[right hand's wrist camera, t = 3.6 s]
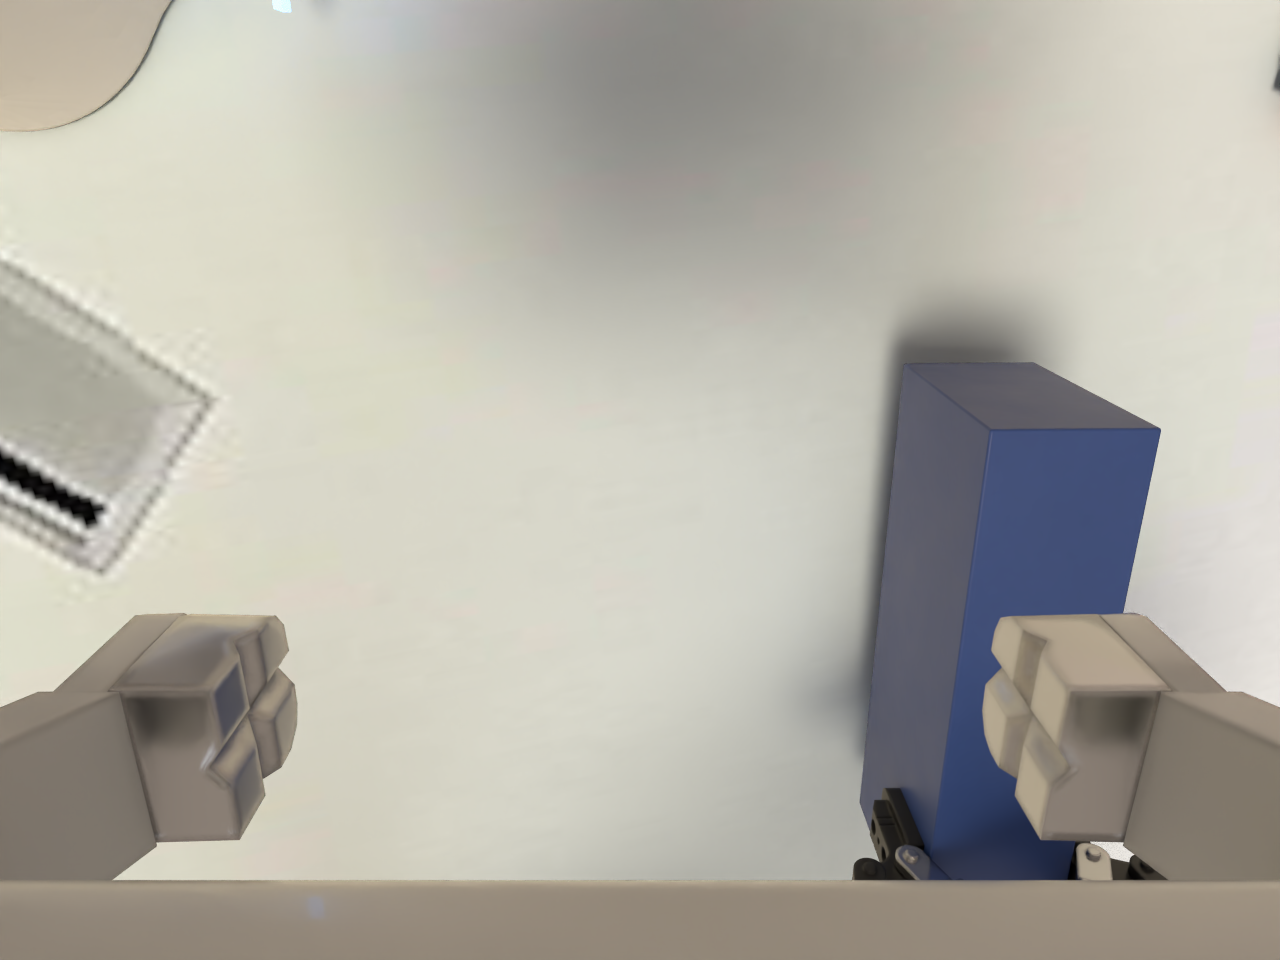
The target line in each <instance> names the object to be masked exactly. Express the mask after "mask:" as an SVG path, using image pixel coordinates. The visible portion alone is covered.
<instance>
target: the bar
mask: <svg viewBox="0 0 1280 960" xmlns="http://www.w3.org/2000/svg"><path fill="white" fill-rule="evenodd" d="M1160 433H1161V429H1160V428H1158V427H1156V426H1155V425H1153V424H1151V423H1149V422H1147V421H1145V420H1143V419H1141V418H1139V417H1137V416H1135V415H1133V414H1131V413H1130V412H1128V411H1126V410H1124V409H1122V408H1120V407H1118V406H1116V405H1114V404H1112V403H1110V402H1108V401H1106V400H1105V399H1103V398H1101V397H1099V396H1097V395H1095V394H1093V393H1091V392H1089V391H1087V390H1085V389H1083V388H1082V387H1080V386H1078V385H1076V384H1074V383H1072V382H1070V381H1068V380H1066V379H1064V378H1062V377H1060V376H1058V375H1057V374H1055V373H1053V372H1051V371H1049V370H1047V369H1045V368H1043V367H1041V366H1039V365H1037V364H1035V363H906V364H904V368H903V378H902V388H901V398H900V408H899V418H898V427H897V437H896V447H895V457H894V467H893V477H892V487H891V497H890V507H889V517H888V527H887V536H886V546H885V556H884V566H883V576H882V586H881V596H880V606H879V616H878V626H877V636H876V646H875V655H874V665H873V675H872V685H871V695H870V705H869V715H868V725H867V735H866V745H865V755H864V764H863V774H862V784H861V794H860V805H861V807H862V810H863V813H864V816H865V819H866V821H867V824H868V827H869V830H871V820H872V811H873V805H874V800H881V798H882V790H883V788H900V789H901V791H902V793H903V796H904V798H905V800H906V803H907V805H908V807H909V810H910V812H911V814H912V817H913V819H914V821H915V824H916V826H917V829H918V831H919V833H920V836H921V838H922V840H923V843H924V852H925V853H926V854H927V855H928V856H929V857H930V858H931V859H932V860H933V861H934V862H935V863H936V864H937V865H938V866H939V867H940V868H941V869H942V870H943V871H944V872H945V873H946V874H947V875H948V876H949V877H950V878H951V879H952V880H956V879H959V878H961V879H964V880H1067V879H1068V874H1069V870H1070V865H1071V860H1072V855H1073V850H1074V846H1075V841H1059V840H1040V838H1039V836H1038V835H1037V833H1036V831H1035V830H1034V828H1033V826H1032V824H1031V823H1030V821H1029V819H1028V817H1027V816H1026V814H1025V812H1024V811H1023V809H1022V807H1021V805H1020V804H1019V802H1018V800H1017V799H1016V797H1015V790H1016V784H1017V779H1016V778H1015V777H1013V776H1012V775H1010V774H1009V773H1007V772H1005V771H1004V770H1002V769H1001V768H999V767H998V765H997V763H996V762H995V760H994V758H993V756H992V754H991V752H990V750H989V747H988V744H987V740H986V737H985V734H984V723H983V712H982V708H983V700H984V692H985V684H986V683H987V682H988V681H989V680H990V679H991V678H992V677H993V676H994V675H995V674H996V673H997V672H998V671H999V670H1000V669H1001V668H1002V667H1001V665H1000V663H999V662H998V660H997V659H996V657H995V656H994V654H993V653H992V651H991V648H992V642H993V637H994V631H995V629H996V627H997V624H998V622H999V620H1000V618H1002V617H1009V616H1036V615H1077V614H1120V613H1123V610H1124V606H1125V601H1126V596H1127V591H1128V586H1129V582H1130V577H1131V572H1132V567H1133V562H1134V558H1135V553H1136V548H1137V543H1138V538H1139V534H1140V529H1141V524H1142V519H1143V514H1144V510H1145V505H1146V500H1147V495H1148V490H1149V486H1150V481H1151V476H1152V471H1153V466H1154V462H1155V457H1156V452H1157V447H1158V442H1159V438H1160Z"/></svg>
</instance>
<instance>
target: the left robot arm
mask: <svg viewBox="0 0 1280 960" xmlns="http://www.w3.org/2000/svg"><path fill="white" fill-rule="evenodd" d="M870 836H871V839H872V842H873V843H874V847H875V850H876V853H877V856H878V858H879V861H880V862H878V861H877V860H874V859H871V858H862V859H859V860H857V861H856V862H855V864H854V868H853V877H852V880H952V879H951V878H950V877H949V876H948V875H947V874H946V873H945V872H944V871H943V870H942V869H941V868H940V867H939V866H938V865H937V864H936V863H935V862H934V861H933V860H932V859H931V858H930V857H929V856H928V855H927V854H926V853H925V852H924V843H923V840H922V838H921V836H920V833H919V831H918V829H917V826H916V824H915V821H914V819H913V817H912V814H911V812H910V810H909V807H908V805H907V803H906V800H905V798H904V796H903V793H902V791H901V789H900V788H883V790H882V798H881V800H874V805H873V811H872V820H871V830H870ZM956 880H964V879H961V878H959V879H956ZM1067 880H1168V879H1166V878H1165V877H1164V876H1162V875H1161V874H1160V873H1158V872H1157V871H1156V870H1154V869H1153V868H1152V867H1150V866H1149V865H1148V864H1146V863H1145V862H1144V861H1143V860H1141V859H1140V858H1139V857H1137V856H1136V855H1133V856H1132V857H1131V858H1130V861H1129V862H1125V861H1120V860H1116V859H1112V858H1110V856H1109V854H1108V853H1107V852H1106V851H1105V850H1104V849H1103V848H1101V847H1099V846H1097V845H1094V844H1091V843H1090V841H1075V846H1074V850H1073V855H1072V860H1071V865H1070V870H1069V874H1068V879H1067Z"/></svg>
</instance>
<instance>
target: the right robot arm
mask: <svg viewBox="0 0 1280 960" xmlns="http://www.w3.org/2000/svg"><path fill="white" fill-rule="evenodd" d="M171 1H172V0H0V131H13V132H25V131H38V130H45V129H50V128H55V127H59V126H62V125H65V124H68V123H71V122H73V121H76V120H79V119H81V118H83V117H84V116H86V115H88V114H90V113H92V112H93V111H95V110H97V109H98V108H100V107H101V106H102V105H104V104H105V103H106V102H108V101H109V100H110V99H111V98H112V97H113V96H115V95H116V94H117V93H118V92H119V91H120V90H121V89H122V87H123V86H124V85H125V84H126V83H127V82H128V81H129V79H130V78H131V77H132V75H133V74H134V72H135V71H136V69H137V68H138V66H139V65H140V63H141V61H142V60H143V58H144V56H145V54H146V52H147V50H148V48H149V45H150V43H151V40H152V38H153V36H154V33H155V31H156V29H157V26H158V24H159V22H160V19H161V17H162V16H163V14H164V12H165V10H166V8H167V7H168V5H169V4H170V2H171ZM273 8H274V9H276V10H279V11H282V12H291V7H290V0H273ZM288 651H289V648H288V643H287V638H286V633H285V628H284V624H283V623H282V622H281V621H280V620H279V619H278V618H277V617H276V616H268V615H215V614H189V615H187V614H185V613H169V614H144V615H135V616H134V617H133V618H132V619H131V620H130V621H129V622H128V623H127V624H125V625H124V626H123V627H122V628H121V629H120V630H119V631H118V632H117V633H116V634H115V635H114V636H113V637H111V638H110V639H109V640H108V641H107V642H106V643H105V644H104V645H103V646H102V647H101V648H100V649H99V650H97V651H96V652H95V653H94V654H93V655H92V656H91V657H90V658H89V659H88V660H87V661H86V662H85V663H83V664H82V665H81V666H80V667H79V668H78V669H77V670H76V671H75V672H74V673H73V674H72V675H71V676H69V677H68V678H67V679H66V680H65V681H64V682H63V683H62V684H61V685H60V686H59V687H58V688H57V689H55V690H54V691H53V692H37V693H34V694H32V695H29V696H27V697H24V698H22V699H20V700H17V701H15V702H12V703H10V704H7V705H5V706H3V707H0V960H1280V707H1277V706H1275V705H1273V704H1270V703H1268V702H1265V701H1263V700H1260V699H1258V698H1256V697H1253V696H1251V695H1248V694H1246V693H1243V692H1227V691H1226V690H1225V689H1224V688H1222V687H1221V686H1220V685H1219V684H1218V683H1217V682H1216V681H1215V680H1214V679H1213V678H1212V677H1211V676H1210V675H1209V674H1207V673H1206V672H1205V671H1204V670H1203V669H1202V668H1201V667H1200V666H1199V665H1198V664H1197V663H1196V662H1195V661H1193V660H1192V659H1191V658H1190V657H1189V656H1188V655H1187V654H1186V653H1185V652H1184V651H1183V650H1182V649H1181V648H1180V647H1178V646H1177V645H1176V644H1175V643H1174V642H1173V641H1172V640H1171V639H1170V638H1169V637H1168V636H1167V635H1166V634H1164V633H1163V632H1162V631H1161V630H1160V629H1159V628H1158V627H1157V626H1156V625H1155V624H1154V623H1153V622H1152V621H1151V620H1149V619H1148V618H1147V617H1146V616H1143V615H1140V614H1136V613H1120V614H1077V615H1036V616H1009V617H1002V618H1000V620H999V622H998V624H997V627H996V629H995V631H994V637H993V642H992V648H991V651H992V653H993V654H994V656H995V657H996V659H997V660H998V662H999V663H1000V665H1001V667H1002V668H1001V669H1000V670H999V671H998V672H997V673H996V674H995V675H994V676H993V677H992V678H991V679H990V680H989V681H988V682H987V683H986V684H985V692H984V700H983V708H982V712H983V723H984V734H985V737H986V740H987V744H988V747H989V750H990V752H991V754H992V756H993V758H994V760H995V762H996V763H997V765H998V767H999V768H1001V769H1002V770H1004V771H1005V772H1007V773H1009V774H1010V775H1012V776H1013V777H1015V778H1016V779H1017V784H1016V790H1015V797H1016V799H1017V800H1018V802H1019V804H1020V805H1021V807H1022V809H1023V811H1024V812H1025V814H1026V816H1027V817H1028V819H1029V821H1030V823H1031V824H1032V826H1033V828H1034V830H1035V831H1036V833H1037V835H1038V836H1039V838H1040V840H1059V841H1096V842H1124V844H1123V846H1124V847H1125V848H1127V849H1128V850H1129V851H1131V852H1132V853H1133V854H1135V855H1136V856H1137V857H1139V858H1140V859H1141V860H1143V861H1144V862H1145V863H1146V864H1148V865H1149V866H1150V867H1152V868H1153V869H1154V870H1156V871H1157V872H1158V873H1160V874H1161V875H1162V876H1164V877H1165V878H1166V879H1168V880H113V879H114V878H115V877H117V876H118V875H119V874H121V873H122V872H123V871H125V870H126V869H127V868H129V867H130V866H131V865H133V864H134V863H135V862H137V861H138V860H139V859H140V858H142V857H143V856H144V855H146V854H147V853H148V852H150V851H151V850H152V849H154V848H155V847H156V846H157V844H156V842H183V841H219V840H240V838H241V837H242V835H243V833H244V831H245V830H246V828H247V826H248V825H249V823H250V821H251V819H252V818H253V816H254V814H255V812H256V811H257V809H258V807H259V806H260V804H261V802H262V800H263V799H264V797H265V790H264V784H263V779H264V778H265V777H267V776H268V775H270V774H272V773H273V772H275V771H276V770H278V769H279V768H281V767H282V765H283V763H284V762H285V760H286V758H287V756H288V754H289V752H290V750H291V748H292V743H293V739H294V735H295V731H296V727H297V698H296V691H295V684H294V683H293V682H292V681H291V680H290V679H289V678H288V677H287V676H286V675H285V674H284V673H283V672H282V671H281V670H280V669H279V668H278V667H279V665H280V664H281V662H282V660H283V659H284V657H285V656H286V654H287V653H288Z"/></svg>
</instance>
